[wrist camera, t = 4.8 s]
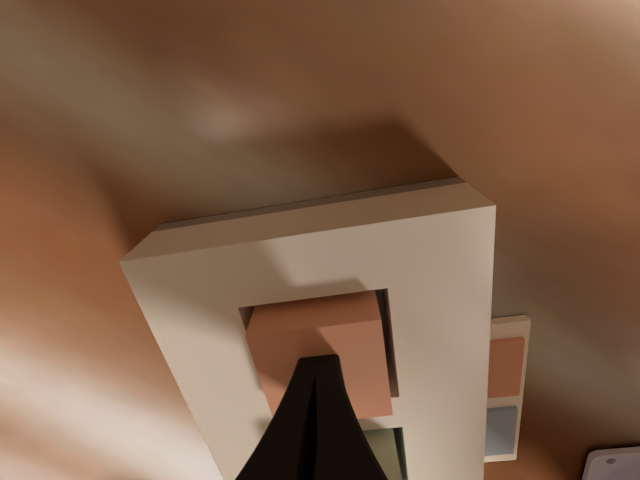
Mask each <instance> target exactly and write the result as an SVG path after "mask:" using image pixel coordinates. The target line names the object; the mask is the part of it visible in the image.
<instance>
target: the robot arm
mask: <svg viewBox="0 0 640 480" xmlns="http://www.w3.org/2000/svg"><path fill="white" fill-rule="evenodd" d="M235 480H388V478H387V477H386V475H385V473H384V471H383V470H382V468H381V466H380V464H379V462H378V461H377V459H376V457H375V455H374V453H373V451H372V449H371V447H370V445H369V443H368V441H367V439H366V437H365V435H364V433H363V431H362V429H361V426H360V424H359V422H358V420H357V417H356V415H355V412H354V410H353V408H352V405H351V402H350V400H349V397H348V394H347V391H346V388H345V383H344V378H343V373H342V368H341V363H340V358H339V356H338V355H337V354H329V355H321V356H312V357H304V358H300V359H299V360H298V361H297V364H296V367H295V370H294V372H293V375H292V377H291V380H290V382H289V384H288V387H287V389H286V391H285V393H284V395H283V397H282V400H281V402H280V404H279V406H278V408H277V410H276V412H275V414H274V416H273V418H272V420H271V421H270V423H269V425H268V427H267V429H266V431H265V432H264V434H263V436H262V438H261V440H260V441H259V443H258V445H257V446H256V448H255V450H254V451H253V453H252V454H251V456H250V458H249V459H248V461H247V462H246V464H245V465H244V467H243V468H242V470H241V471H240V473H239V474H238V476H237V477H236V478H235ZM582 480H640V446H639V447H627V448H615V449H602V450H595V451H592V452H590V453H589V455H588V457H587V461H586V465H585V469H584V473H583V477H582Z"/></svg>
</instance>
